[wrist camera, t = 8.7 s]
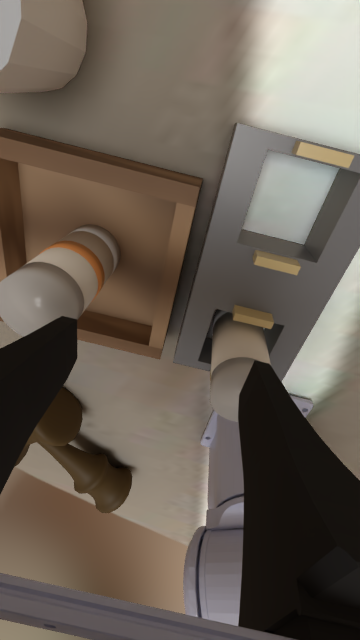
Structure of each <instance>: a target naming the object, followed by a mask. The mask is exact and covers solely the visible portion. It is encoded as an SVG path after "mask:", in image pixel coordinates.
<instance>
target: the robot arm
mask: <svg viewBox="0 0 360 640" xmlns="http://www.w3.org/2000/svg"><path fill="white" fill-rule="evenodd" d="M76 360H77V319H74V318H69V317H65V316H61V317H59V318H57V319H55V320H53V321H52V322H50V323H48V324H46V325H45V326H43V327H41V328H39V329H37V330H36V331H34V332H32V333H30V334H28V335H26V336H24V337H23V338H21V339H19V340H17V341H15V342H13V343H11V344H9V345H7V346H5V347H3V348H1V349H0V494H1V492H2V490H3V488H4V486H5V484H6V482H7V480H8V478H9V476H10V474H11V472H12V470H13V468H14V466H15V464H16V462H17V460H18V458H19V456H20V454H21V452H22V450H23V449H24V447H25V445H26V443H27V441H28V439H29V437H30V436H31V434H32V432H33V431H34V429H35V427H36V426H37V424H38V423H39V421H40V420H41V418H42V417H43V415H44V414H45V412H46V411H47V409H48V407H49V406H50V404H51V403H52V401H53V400H54V398H55V397H56V395H57V394H58V392H59V391H60V389H61V388H62V386H63V385H64V383H65V382H66V380H67V378H68V376H69V374H70V372H71V370H72V368H73V366H74V364H75V362H76ZM304 408H305V409H304ZM312 408H313V403H312V401H310V400H307V399H303V398H299V397H295V396H291V395H289V394H288V392H287V390H286V389H285V387H284V386H283V384H282V383H281V381H280V379H279V378H278V376H277V374H276V373H275V371H274V370H273V368H272V367H271V365H270V364H269V363H264V362H260V361H256V360H255V361H254V363H253V365H252V367H251V369H250V372H249V374H248V376H247V378H246V381H245V383H244V385H243V387H242V389H241V392H240V394H239V405H238V422H235V421H231V420H228V419H225V418H223V417H222V416H220V415H219V414H217V413H216V412H215V411H214V410H213V412H212V415H211V417H210V419H209V422H208V424H207V426H206V429H205V431H204V434H203V436H202V438H201V445H203V446H205V447H210V450H209V478H208V509H209V510H207V517H206V526H201V527H199V528H198V529H197V530H196V532H195V533H194V535H193V538H192V540H191V542H190V544H189V546H188V549H187V553H186V558H185V565H184V580H183V585H184V586H183V590H184V604H185V612H186V614H181V613H176V612H172V611H168V610H163V609H159V608H154V607H150V606H145V605H141V604H136V603H132V602H128V601H123V600H119V599H114V598H110V597H105V596H101V595H96V594H92V593H88V592H82V591H79V590H74V589H69V588H65V587H61V586H56V585H51V584H47V583H42V582H38V581H34V580H29V579H25V578H21V577H16V576H12V575H7V574H3V573H0V619H2V620H7V621H12V622H16V623H20V624H25V625H29V626H34V627H38V628H43V629H47V630H52V631H56V632H61V633H65V634H70V635H74V636H79V637H83V638H88V639H92V640H360V481H359V480H358V479H357V478H356V477H355V475H354V474H353V473H352V472H351V471H350V470H349V469H348V468H347V467H346V466H345V465H344V464H343V463H342V462H341V461H340V460H339V459H338V458H337V457H336V455H335V454H334V453H333V452H332V451H331V450H330V448H329V447H328V446H327V445H326V444H325V443H324V441H323V440H322V439H321V438H320V437H319V435H318V434H317V433H316V432H315V430H314V429H313V428H312V426H311V425H310V424H309V422H308V421H307V420H306V416H307V415H308V413H309V412H310V411H311V409H312Z"/></svg>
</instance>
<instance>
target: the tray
mask: <svg viewBox="0 0 360 640" xmlns="http://www.w3.org/2000/svg"><path fill="white" fill-rule="evenodd" d="M202 181H203V179H202V178H198V177H194V176H190V175H186V174H182V173H178V172H175V171H171V170H167V169H163V168H159V167H155V166H151V165H147V164H143V163H139V162H135V161H131V160H127V159H123V158H119V157H116V156H112V155H108V154H104V153H100V152H96V151H92V150H88V149H84V148H80V147H76V146H72V145H68V144H64V143H60V142H57V141H53V140H49V139H45V138H41V137H37V136H33V135H29V134H25V133H21V132H17V131H13V130H9V129H5V128H0V282H1V281H2V280H3V279H5V278H6V277H8V276H9V275H11V274H12V273H14V272H15V271H16V270H18V269H19V268H21V267H22V266H24V265H25V264H26V263H28V262H29V261H31V260H32V259H34V258H35V257H36V256H38V255H39V254H40V253H41V252H42V251H43V250H45V249H46V248H48V247H49V246H51V245H52V244H54V243H56V242H58V241H59V240H61V239H62V238H64V237H65V236H67V235H68V234H69V233H71V232H72V231H74V230H75V229H77V228H78V227H80V226H82V225H87V224H93V225H98V226H100V227H103V228H104V229H106V230H107V231H109V232H110V233H111V234H112V235H113V236H114V237H115V239H116V240H117V242H118V244H119V247H120V252H121V258H120V262H119V264H118V266H117V268H116V269H115V270H114V272H113V273H112V274H111V276H110V277H109V278H108V280H107V281H106V282H105V284H104V285H103V287H102V289H101V291H100V292H99V293H98V295H97V296H96V297H95V299H94V300H93V301H92V302H91V303H90V304H89V305H88V307H87V308H86V309H85V311H84V312H83V313H82V315H81V316H80V317H79V319H78V320H77V339H78V340H82V341H86V342H90V343H94V344H98V345H102V346H107V347H111V348H115V349H119V350H123V351H127V352H131V353H136V354H140V355H144V356H148V357H152V358H156V359H160V357H161V353H162V350H163V346H164V342H165V338H166V334H167V330H168V326H169V322H170V317H171V313H172V309H173V304H174V300H175V296H176V292H177V287H178V283H179V279H180V275H181V270H182V266H183V262H184V257H185V253H186V249H187V245H188V240H189V236H190V232H191V228H192V223H193V219H194V215H195V210H196V206H197V202H198V198H199V193H200V189H201V185H202ZM0 321H3V319H2V318H1V316H0ZM3 322H4V321H3Z"/></svg>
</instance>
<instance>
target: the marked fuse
mask: <svg viewBox="0 0 360 640" xmlns="http://www.w3.org/2000/svg"><path fill="white" fill-rule="evenodd" d="M120 258H121V252H120V247H119V244H118V242H117V240H116V239H115V237H114V236H113V235H112V234H111V233H110V232H109V231H107V230H106V229H104V228H103V227H100V226H98V225H93V224H87V225H82V226H80V227H78V228H77V229H75V230H74V231H72V232H71V233H69V234H68V235H67V236H65V237H64V238H62V239H61V240H59V241H58V242H56V243H54V244H52V245H51V246H49V247H48V248H46V249H45V250H43V251H42V252H41V253H40V254H39V255H38V256H36V257H35V258H34V259H32V260H31V261H29V262H28V263H26V264H25V265H24V266H22V267H21V268H19V269H18V270H16V271H15V272H14V273H12V274H11V275H9V276H8V277H6V278H5V279H3V280H2V281H1V282H0V316H1V318H2V319H3V321H4V322H5V323H6V324H7V325H8V326H9V327H10V328H11V329H12V330H14V331H15V332H16V333H18V334H19V335H21V336H23V337H24V336H26V335H28V334H30V333H32V332H34V331H36V330H37V329H39V328H41V327H43V326H45V325H46V324H48V323H50V322H52V321H53V320H55V319H57V318H59V317H61V316H65V317H69V318H74V319H77V320H78V319H79V317H80V316H81V315H82V313H83V312H84V311H85V309H86V308H87V307H88V305H89V304H90V303H91V302H92V301H93V300H94V299H95V297H96V296H97V295H98V293H99V292H100V291H101V289H102V287H103V285H104V284H105V282H106V281H107V280H108V278H109V277H110V276H111V274H112V273H113V272H114V270H115V269H116V268H117V266H118V264H119V262H120Z"/></svg>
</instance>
